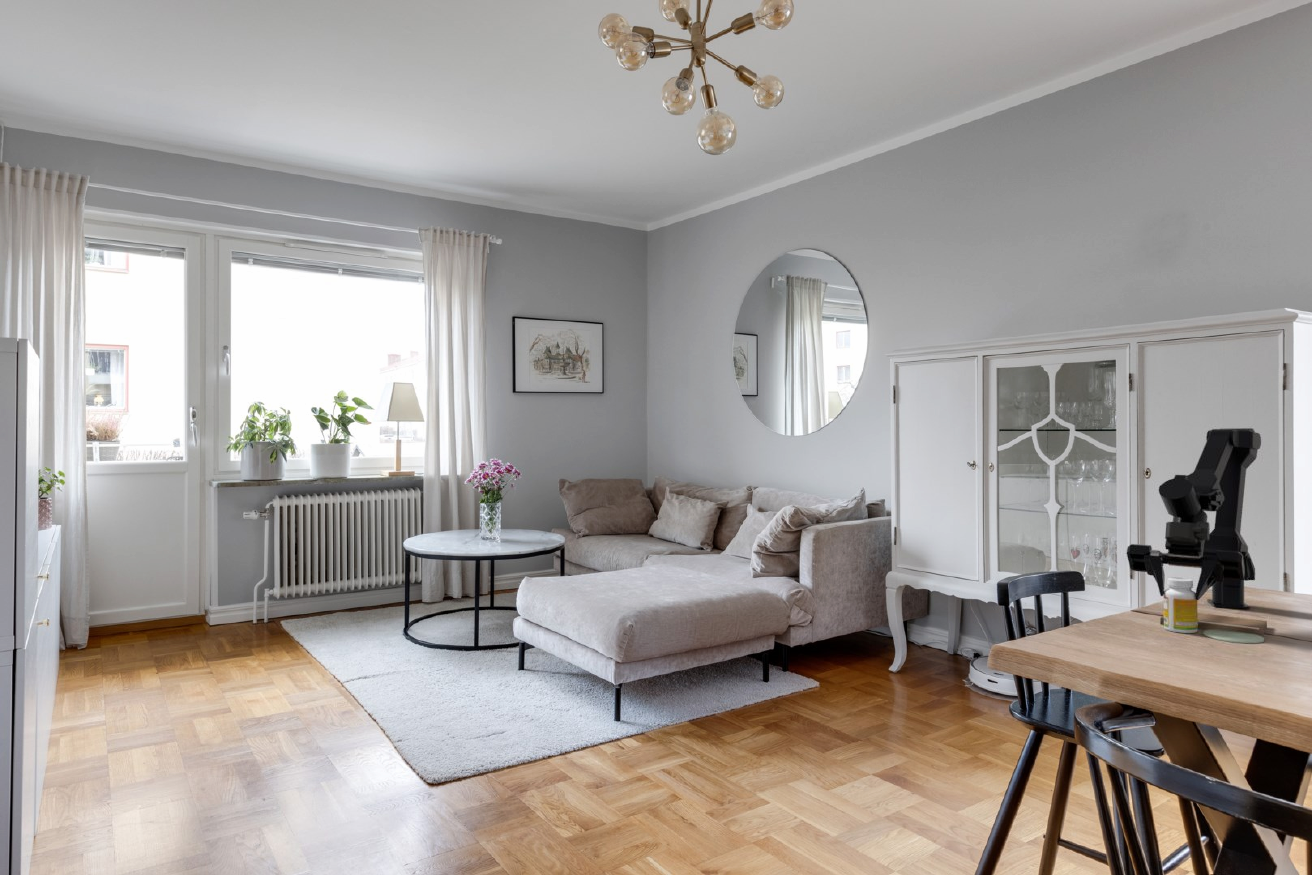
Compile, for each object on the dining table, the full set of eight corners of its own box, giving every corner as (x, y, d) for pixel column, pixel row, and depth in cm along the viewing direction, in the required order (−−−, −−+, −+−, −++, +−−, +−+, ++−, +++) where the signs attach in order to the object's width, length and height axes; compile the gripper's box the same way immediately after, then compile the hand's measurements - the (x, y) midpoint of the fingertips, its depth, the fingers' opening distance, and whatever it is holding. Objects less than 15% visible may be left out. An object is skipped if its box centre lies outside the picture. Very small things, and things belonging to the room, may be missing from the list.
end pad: (1198, 629, 153) (1198, 627, 153) (1255, 633, 149) (1255, 631, 149) (1210, 640, 144) (1210, 638, 144) (1271, 645, 141) (1271, 642, 141)
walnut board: (1160, 623, 157) (1160, 617, 157) (1169, 615, 165) (1169, 609, 165) (1262, 636, 147) (1262, 629, 147) (1267, 627, 154) (1266, 620, 154)
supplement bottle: (1204, 632, 151) (1204, 580, 151) (1184, 634, 149) (1184, 582, 149) (1176, 625, 156) (1176, 576, 156) (1157, 628, 154) (1156, 577, 154)
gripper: (1128, 503, 161) (1116, 565, 153) (1242, 508, 149) (1236, 575, 141) (1136, 539, 167) (1125, 600, 159) (1247, 546, 155) (1241, 613, 147)
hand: (1179, 596), depth 151 cm, fingers closed on supplement bottle, 5 cm apart
